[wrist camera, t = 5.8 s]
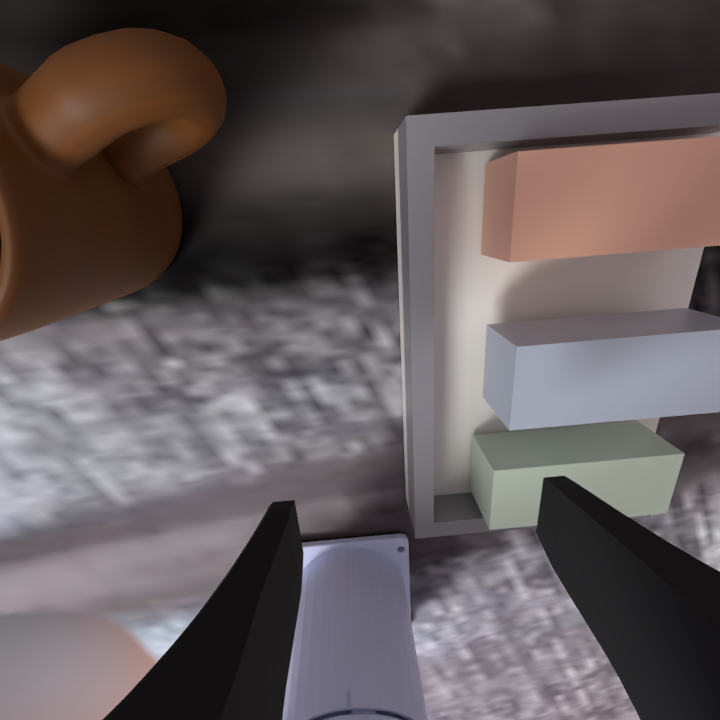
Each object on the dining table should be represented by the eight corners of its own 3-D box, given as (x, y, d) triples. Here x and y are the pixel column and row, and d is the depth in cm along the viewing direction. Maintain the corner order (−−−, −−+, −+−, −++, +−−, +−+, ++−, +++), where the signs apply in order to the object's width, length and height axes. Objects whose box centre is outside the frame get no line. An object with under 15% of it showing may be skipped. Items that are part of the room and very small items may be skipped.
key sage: (624, 474, 21) (666, 513, 18) (469, 488, 21) (489, 530, 18) (636, 420, 20) (684, 453, 17) (472, 435, 20) (493, 470, 17)
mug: (225, 25, 14) (38, -285, 5) (306, 222, 17) (268, 227, 8) (-35, 149, 15) (-546, 58, 6) (80, 316, 18) (-169, 410, 9)
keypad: (626, 476, 23) (671, 517, 20) (405, 496, 23) (415, 541, 20) (713, 111, 16) (805, 85, 13) (393, 134, 16) (407, 114, 13)
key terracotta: (679, 238, 16) (748, 243, 14) (480, 254, 16) (509, 262, 13) (701, 147, 15) (782, 131, 12) (485, 163, 15) (518, 151, 12)
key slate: (667, 380, 18) (727, 411, 15) (482, 396, 18) (509, 430, 15) (685, 308, 16) (755, 326, 14) (486, 324, 16) (516, 346, 13)
